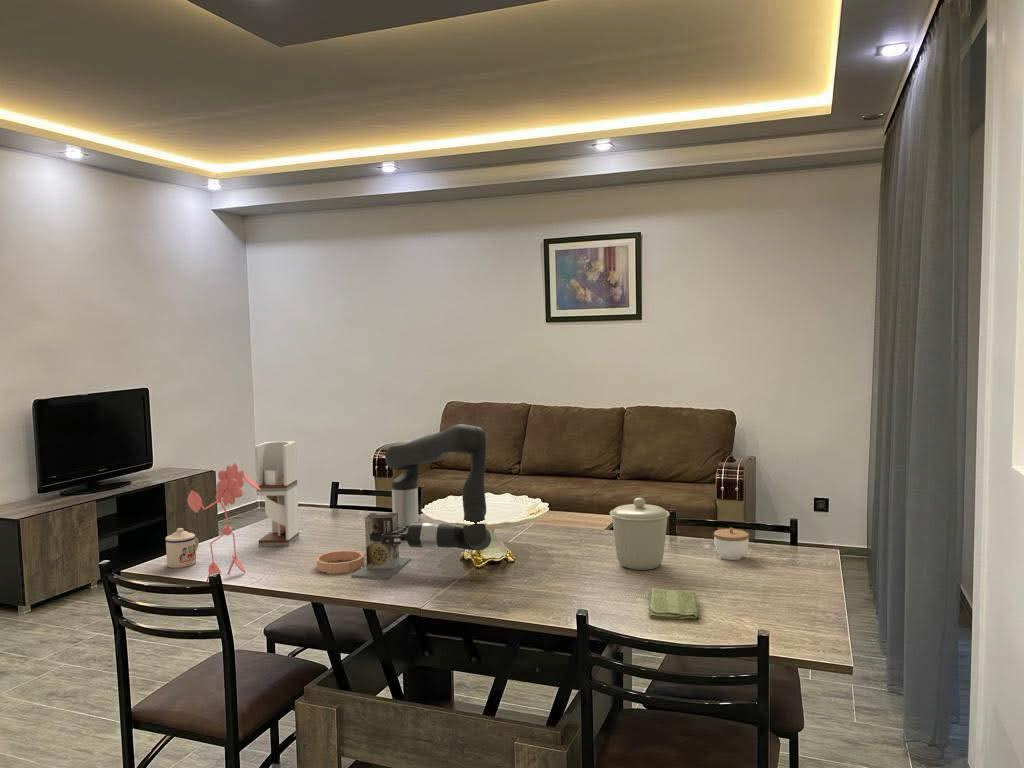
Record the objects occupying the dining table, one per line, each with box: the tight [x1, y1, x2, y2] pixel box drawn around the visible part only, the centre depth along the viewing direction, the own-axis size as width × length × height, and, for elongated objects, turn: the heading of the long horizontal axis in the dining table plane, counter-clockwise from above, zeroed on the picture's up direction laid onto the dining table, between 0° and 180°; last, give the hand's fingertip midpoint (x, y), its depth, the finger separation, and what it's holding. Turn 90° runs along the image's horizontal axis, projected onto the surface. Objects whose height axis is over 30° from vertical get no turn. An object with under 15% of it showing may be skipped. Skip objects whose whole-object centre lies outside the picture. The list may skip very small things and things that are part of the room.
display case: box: [254, 441, 300, 547], centre depth 274 cm, size 11×11×35 cm
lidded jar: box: [713, 527, 750, 561], centre depth 245 cm, size 11×11×9 cm
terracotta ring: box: [315, 549, 365, 574], centre depth 244 cm, size 14×14×3 cm
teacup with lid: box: [164, 527, 199, 569], centre depth 250 cm, size 12×9×12 cm
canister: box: [609, 497, 670, 571], centre depth 238 cm, size 18×18×21 cm
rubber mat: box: [350, 556, 412, 580], centre depth 241 cm, size 20×12×1 cm, turn 168°
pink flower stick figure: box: [187, 462, 265, 588], centre depth 230 cm, size 15×26×35 cm, turn 158°
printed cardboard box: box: [364, 512, 400, 569], centre depth 240 cm, size 9×6×16 cm
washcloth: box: [647, 588, 701, 620], centre depth 201 cm, size 13×18×3 cm
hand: (375, 533), depth 240 cm, fingers open, 8 cm apart
